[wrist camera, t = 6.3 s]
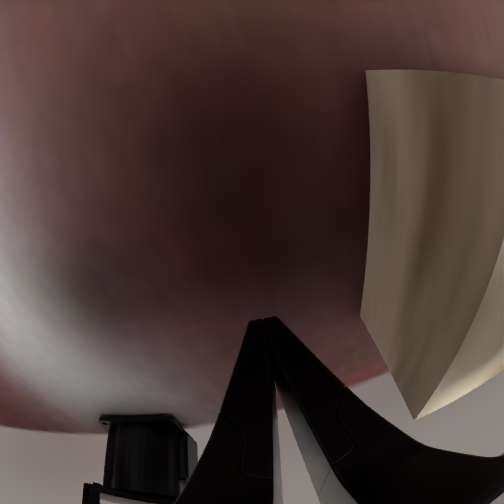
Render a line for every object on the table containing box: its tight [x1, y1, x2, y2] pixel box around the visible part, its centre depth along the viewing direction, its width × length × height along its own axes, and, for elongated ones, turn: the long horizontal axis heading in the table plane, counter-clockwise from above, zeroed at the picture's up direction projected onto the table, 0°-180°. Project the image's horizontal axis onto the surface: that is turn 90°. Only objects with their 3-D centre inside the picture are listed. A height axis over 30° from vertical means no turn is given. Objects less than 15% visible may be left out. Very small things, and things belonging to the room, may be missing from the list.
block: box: [360, 70, 504, 421], centre depth 9 cm, size 10×12×7 cm
